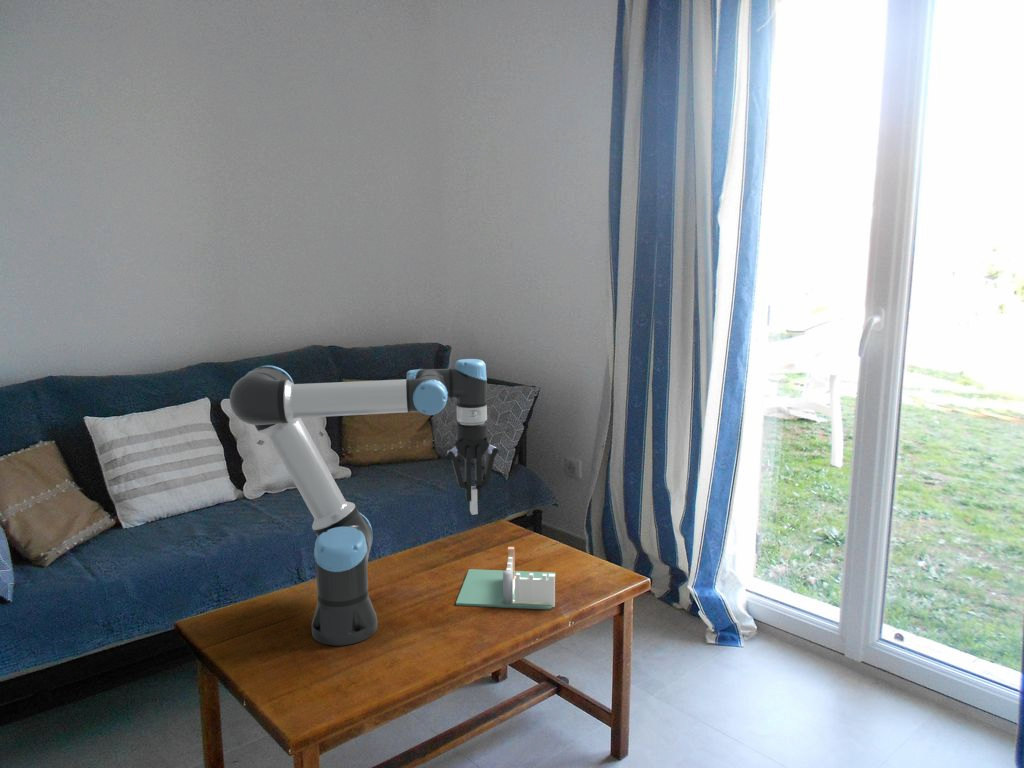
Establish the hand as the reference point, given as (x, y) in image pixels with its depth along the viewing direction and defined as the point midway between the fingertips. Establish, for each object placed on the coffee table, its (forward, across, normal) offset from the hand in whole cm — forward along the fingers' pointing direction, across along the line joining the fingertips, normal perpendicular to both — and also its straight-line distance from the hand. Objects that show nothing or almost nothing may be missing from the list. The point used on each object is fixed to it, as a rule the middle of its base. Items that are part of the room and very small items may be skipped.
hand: (473, 512), depth 189 cm
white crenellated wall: (+21, +9, +1) cm, 23 cm away
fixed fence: (+22, +12, -9) cm, 27 cm away
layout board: (+22, +9, +1) cm, 24 cm away
